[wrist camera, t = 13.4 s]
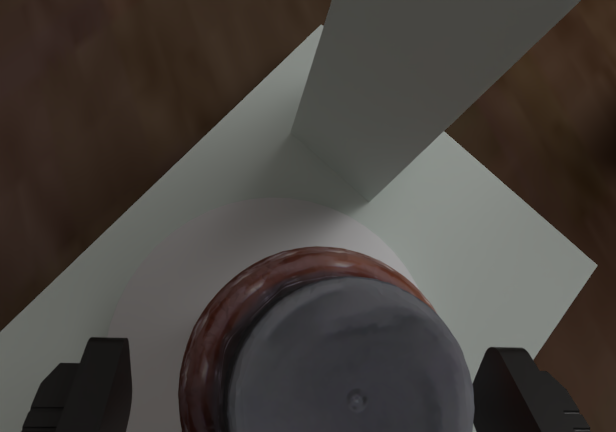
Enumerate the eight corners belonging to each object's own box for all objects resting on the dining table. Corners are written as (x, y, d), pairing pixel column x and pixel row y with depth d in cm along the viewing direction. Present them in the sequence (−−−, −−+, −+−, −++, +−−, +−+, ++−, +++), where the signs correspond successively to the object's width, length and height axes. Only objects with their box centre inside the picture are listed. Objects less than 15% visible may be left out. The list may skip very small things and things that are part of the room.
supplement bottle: (168, 328, 19) (87, 312, 8) (315, 254, 20) (420, 152, 9) (244, 488, 18) (271, 718, 7) (391, 399, 19) (604, 476, 8)
